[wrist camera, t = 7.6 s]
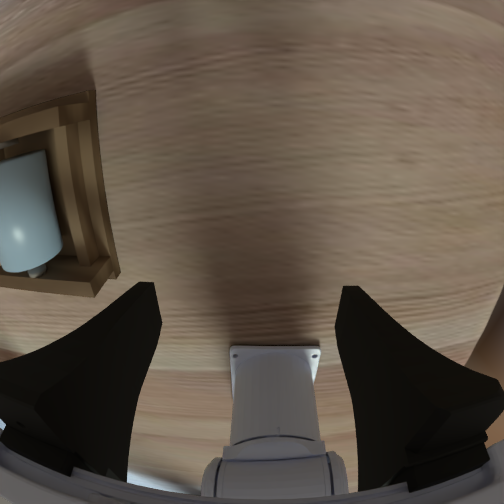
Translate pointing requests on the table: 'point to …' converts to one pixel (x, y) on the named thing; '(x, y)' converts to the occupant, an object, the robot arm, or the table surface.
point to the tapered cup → (27, 213)
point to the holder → (66, 194)
